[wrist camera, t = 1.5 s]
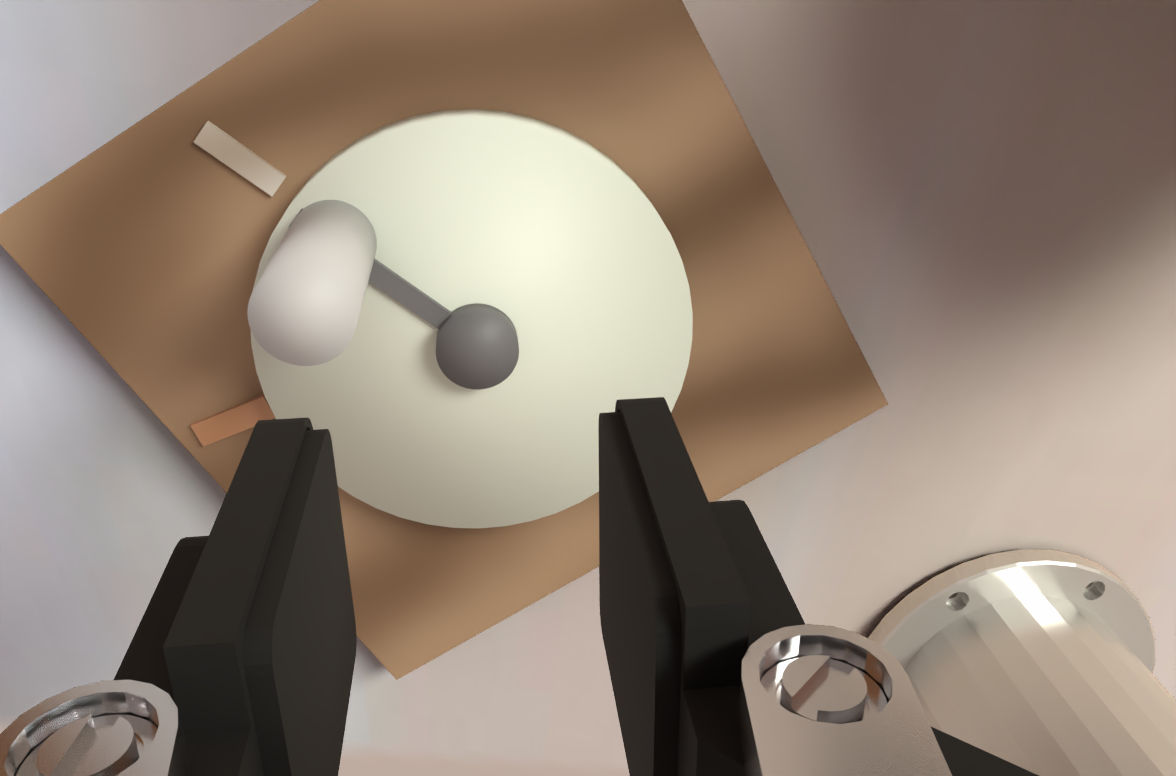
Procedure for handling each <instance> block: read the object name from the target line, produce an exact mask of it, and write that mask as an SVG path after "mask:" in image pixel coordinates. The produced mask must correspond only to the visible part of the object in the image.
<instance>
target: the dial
mask: <svg viewBox="0 0 1176 776" xmlns="http://www.w3.org/2000/svg"><path fill="white" fill-rule="evenodd" d="M247 314H248V322H249V326H250V329H251V346H252V351H253V357H254V362H255V367H256V372H257V375H258V378H259V381H260V384H261V387H262V390H263V393H264V396H265V398H266V400H267V402H268V404H269V406H270V408H271V410H272V412H273V414H274V416H275V418H276V419H290V418H309V419H310V421H311V423H312V426H313V430H318V429H328V430H329V431H330V435H331V440H332V446H333V454H334V461H335V469H336V477H337V484H338V487H340V488H341V489H343V490H344V491H346V492H347V493H349V494H350V495H352V496H353V497H355V498H357V499H359V500H361V501H363V502H365V503H367V504H369V505H371V506H373V507H374V508H377V509H379V510H382V511H384V512H387V513H390V514H392V515H395V516H398V517H400V518H404V519H408V520H412V521H416V522H420V523H424V524H429V525H436V526H443V527H451V528H491V527H502V526H509V525H514V524H519V523H524V522H529V521H533V520H536V519H540V518H543V517H546V516H549V515H552V514H555V513H558V512H560V511H562V510H565V509H567V508H569V507H571V506H573V505H576V504H578V503H580V502H582V501H584V500H585V499H587V498H589V497H590V496H592V495H594V494H595V493H597V492H599V432H598V426H599V414H600V413H608V412H615V406H616V401H617V400H621V399H639V398H656V397H664V398H665V400H666V402H667V405H668V407H669V409H670V412H672V410H673V407H674V405H675V403H676V400H677V398H678V396H679V394H680V391H681V389H682V386H683V382H684V379H685V375H686V372H687V368H688V365H689V358H690V352H691V345H692V327H693V312H692V304H691V296H690V288H689V284H688V280H687V276H686V273H685V269H684V265H683V262H682V259H681V257H680V254H679V252H678V250H677V247H676V245H675V243H674V240H673V238H672V236H671V234H670V232H669V231H668V229H667V227H666V226H665V224H664V222H663V221H662V219H661V217H660V216H659V214H658V212H657V211H656V209H655V208H654V206H653V205H652V203H651V202H650V200H649V199H648V198H647V196H646V195H645V194H644V193H643V191H642V190H641V189H640V188H639V187H638V185H637V184H636V183H635V182H634V180H633V179H632V178H631V177H630V176H629V175H628V174H627V173H626V172H625V171H624V170H623V169H622V168H621V167H620V166H618V165H617V164H616V163H615V162H614V161H613V160H612V159H611V158H610V157H608V156H607V155H606V154H604V153H603V152H601V151H600V150H598V149H597V148H596V147H594V146H593V145H591V144H590V143H589V142H587V141H585V140H583V139H582V138H580V137H578V136H576V135H574V134H572V133H570V132H568V131H566V130H564V129H562V128H560V127H558V126H555V125H552V124H549V123H547V122H544V121H541V120H538V119H535V118H533V117H528V116H523V115H519V114H514V113H510V112H505V111H495V110H483V109H460V110H443V111H437V112H432V113H427V114H421V115H416V116H412V117H409V118H406V119H403V120H400V121H397V122H394V123H391V124H388V125H385V126H383V127H381V128H379V129H377V130H375V131H373V132H371V133H369V134H367V135H365V136H363V137H361V138H359V139H357V140H356V141H354V142H353V143H351V144H350V145H348V146H347V147H345V148H344V149H343V150H341V151H340V152H338V153H337V154H335V155H334V156H333V157H332V158H331V159H329V160H328V161H327V162H326V163H325V164H324V165H323V166H322V167H321V168H320V169H318V170H317V171H316V172H315V173H314V174H313V175H312V176H311V177H310V179H309V180H308V181H307V182H306V183H305V185H304V186H303V187H302V188H301V190H300V191H299V192H298V193H297V194H296V196H295V197H294V199H293V200H292V202H291V203H290V205H289V207H288V208H287V210H286V212H285V213H284V215H283V216H282V218H281V220H280V221H279V223H278V225H277V226H276V228H275V230H274V231H273V233H272V235H271V237H270V239H269V241H268V244H267V246H266V249H265V251H264V253H263V256H262V258H261V260H260V264H259V268H258V271H257V275H256V279H255V283H254V287H253V292H252V294H251V297H250V299H249V303H248V310H247Z"/></svg>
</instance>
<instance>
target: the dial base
mask: <svg viewBox="0 0 1176 776" xmlns="http://www.w3.org/2000/svg"><path fill="white" fill-rule="evenodd" d="M460 109H483V110H495V111H505V112H510V113H514V114H519V115H523V116H528V117H533V118H535V119H538V120H541V121H544V122H547V123H549V124H552V125H555V126H558V127H560V128H562V129H564V130H566V131H568V132H570V133H572V134H574V135H576V136H578V137H580V138H582V139H583V140H585V141H587V142H589V143H590V144H591V145H593V146H594V147H596V148H597V149H598V150H600V151H601V152H603V153H604V154H606V155H607V156H608V157H610V158H611V159H612V160H613V161H614V162H615V163H616V164H617V165H618V166H620V167H621V168H622V169H623V170H624V171H625V172H626V173H627V174H628V175H629V176H630V177H631V178H632V179H633V180H634V182H635V183H636V184H637V185H638V187H639V188H640V189H641V190H642V191H643V193H644V194H645V195H646V196H647V198H648V199H649V200H650V202H651V203H652V205H653V206H654V208H655V209H656V211H657V212H658V214H659V216H660V217H661V219H662V221H663V222H664V224H665V226H666V227H667V229H668V231H669V232H670V234H671V236H672V238H673V240H674V243H675V245H676V247H677V250H678V252H679V254H680V257H681V259H682V262H683V265H684V269H685V273H686V276H687V280H688V284H689V288H690V296H691V304H692V312H693V327H692V345H691V352H690V358H689V365H688V368H687V372H686V375H685V379H684V382H683V386H682V389H681V391H680V394H679V396H678V398H677V400H676V403H675V405H674V407H673V410H672V412H671V414H672V416H673V419H674V421H675V423H676V426H677V428H678V431H679V433H680V435H681V438H682V440H683V442H684V445H685V447H686V449H687V452H688V454H689V457H690V459H691V461H692V464H693V466H694V468H695V471H696V473H697V475H698V478H699V480H700V483H701V485H702V487H703V490H704V492H705V494H706V497H707V499H708V501H709V502H714V501H716V500H718V499H720V498H722V497H723V496H725V495H727V494H729V493H730V492H732V491H734V490H736V489H738V488H739V487H741V486H743V485H745V484H747V483H748V482H750V481H752V480H754V479H755V478H757V477H759V476H761V475H763V474H764V473H766V472H768V471H770V470H771V469H773V468H775V467H777V466H779V465H780V464H782V463H784V462H786V461H788V460H789V459H791V458H793V457H795V456H796V455H798V454H800V453H802V452H804V451H805V450H807V449H809V448H811V447H812V446H814V445H816V444H818V443H820V442H821V441H823V440H825V439H827V438H829V437H830V436H832V435H834V434H836V433H837V432H839V431H841V430H843V429H845V428H846V427H848V426H850V425H852V424H853V423H855V422H857V421H859V420H861V419H862V418H864V417H866V416H868V415H870V414H871V413H873V412H875V411H877V410H878V409H880V408H882V407H884V406H886V405H887V404H888V403H887V401H886V399H885V397H884V395H883V393H882V391H881V389H880V387H879V385H878V383H877V381H876V379H875V377H874V375H873V373H872V371H871V369H870V368H869V366H868V364H867V362H866V360H865V358H864V356H863V354H862V352H861V350H860V348H859V346H858V344H857V342H856V340H855V338H854V336H853V334H852V332H851V330H850V328H849V326H848V325H847V323H846V321H845V319H844V317H843V315H842V313H841V311H840V309H839V307H838V305H837V303H836V301H835V299H834V297H833V295H832V293H831V291H830V289H829V287H828V285H827V283H826V282H825V280H824V278H823V276H822V274H821V272H820V270H819V268H818V266H817V264H816V262H815V260H814V258H813V256H812V254H811V252H810V250H809V248H808V246H807V244H806V242H805V240H804V238H803V237H802V235H801V233H800V231H799V229H798V227H797V225H796V223H795V221H794V219H793V217H792V215H791V213H790V211H789V209H788V207H787V205H786V203H785V201H784V199H783V197H782V195H781V194H780V192H779V190H778V188H777V186H776V184H775V182H774V180H773V178H772V176H771V174H770V172H769V170H768V168H767V166H766V164H765V162H764V160H763V158H762V156H761V154H760V152H759V151H758V149H757V147H756V145H755V143H754V141H753V139H752V137H751V135H750V133H749V131H748V129H747V127H746V125H745V123H744V121H743V119H742V117H741V115H740V113H739V111H738V109H737V107H736V106H735V104H734V102H733V100H732V98H731V96H730V94H729V92H728V90H727V88H726V86H725V84H724V82H723V80H722V78H721V76H720V74H719V72H718V70H717V68H716V66H715V64H714V63H713V61H712V59H711V57H710V55H709V53H708V51H707V49H706V47H705V45H704V43H703V41H702V39H701V37H700V35H699V33H698V31H697V29H696V27H695V25H694V23H693V21H692V20H691V18H690V16H689V14H688V12H687V10H686V8H685V6H684V4H683V2H682V0H320V1H318V2H317V3H315V4H314V5H312V6H311V7H309V8H308V9H306V10H305V11H303V12H302V13H300V14H299V15H297V16H296V17H294V18H293V19H291V20H290V21H288V22H287V23H285V24H284V25H282V26H281V27H279V28H278V29H276V30H275V31H273V32H272V33H270V34H269V35H267V36H266V37H264V38H263V39H261V40H260V41H258V42H257V43H255V44H254V45H252V46H251V47H249V48H248V49H246V50H245V51H243V52H242V53H240V54H239V55H237V56H236V57H235V58H233V59H232V60H230V61H229V62H227V63H226V64H224V65H223V66H221V67H220V68H218V69H217V70H215V71H214V72H212V73H211V74H209V75H208V76H206V77H205V78H203V79H202V80H200V81H199V82H197V83H196V84H194V85H193V86H191V87H190V88H188V89H187V90H185V91H184V92H182V93H181V94H179V95H178V96H176V97H175V98H173V99H172V100H170V101H169V102H167V103H166V104H164V105H163V106H161V107H160V108H158V109H157V110H155V111H154V112H152V113H151V114H149V115H148V116H146V117H145V118H143V119H142V120H140V121H139V122H137V123H136V124H134V125H133V126H131V127H130V128H129V129H127V130H126V131H124V132H123V133H121V134H120V135H118V136H117V137H115V138H114V139H112V140H111V141H109V142H108V143H106V144H105V145H103V146H102V147H100V148H99V149H97V150H96V151H94V152H93V153H91V154H90V155H88V156H87V157H85V158H84V159H82V160H81V161H79V162H78V163H76V164H75V165H73V166H72V167H70V168H69V169H67V170H66V171H64V172H63V173H61V174H60V175H58V176H57V177H55V178H54V179H52V180H51V181H49V182H48V183H46V184H45V185H43V186H42V187H40V188H39V189H37V190H36V191H34V192H33V193H31V194H30V195H28V196H27V197H25V198H24V199H22V200H21V201H20V202H18V203H17V204H15V205H14V206H12V207H11V208H9V209H8V210H6V211H5V212H3V213H2V214H0V245H1V246H2V247H3V248H4V249H5V250H6V251H7V252H8V253H9V254H10V256H11V257H12V258H13V259H14V260H15V261H16V262H17V263H18V264H19V265H20V267H21V268H22V269H23V270H24V271H25V272H26V273H27V274H28V275H29V276H30V278H31V279H32V280H33V281H34V282H35V283H36V284H37V285H38V286H39V287H40V289H41V290H42V291H43V292H44V293H45V294H46V295H47V296H48V297H49V298H50V300H51V301H52V302H53V303H54V304H55V305H56V306H57V307H58V308H59V309H60V310H61V312H62V313H63V314H64V315H65V316H66V317H67V318H68V319H69V320H70V321H71V323H72V324H73V325H74V326H75V327H76V328H77V329H78V330H79V331H80V332H81V334H82V335H83V336H84V337H85V338H86V339H87V340H88V341H89V342H90V343H91V345H92V346H93V347H94V348H95V349H96V350H97V351H98V352H99V353H100V354H101V356H102V357H103V358H104V359H105V360H106V361H107V362H108V363H109V364H110V365H111V367H112V368H113V369H114V370H115V371H116V372H117V373H118V374H119V375H120V376H121V378H122V379H123V380H124V381H125V382H126V383H127V384H128V385H129V386H130V387H131V388H132V390H133V391H134V392H135V393H136V394H137V395H138V396H139V397H140V398H141V399H142V401H143V402H144V403H145V404H146V405H147V406H148V407H149V408H150V409H151V410H152V412H153V413H154V414H155V415H156V416H157V417H158V418H159V419H160V420H161V421H162V423H163V424H164V425H165V426H166V427H167V428H168V429H169V430H170V431H171V432H172V434H173V435H174V436H175V437H176V438H177V439H178V440H179V441H180V442H181V443H182V445H183V446H184V447H185V448H186V449H187V450H188V451H189V452H190V453H191V454H192V455H193V457H194V458H195V459H196V460H197V461H198V462H199V463H200V464H201V465H202V466H203V468H204V469H205V470H206V471H207V472H208V473H209V474H210V475H211V476H212V477H213V479H214V480H215V481H216V482H217V483H218V484H219V485H220V486H221V487H222V488H223V490H224V491H225V492H226V493H227V492H228V489H229V487H230V485H231V482H232V480H233V477H234V475H235V473H236V470H237V468H238V465H239V463H240V461H241V458H242V456H243V453H244V451H245V448H246V446H247V444H248V441H249V439H250V436H251V434H252V432H253V429H254V427H255V424H256V423H257V421H258V420H273V419H276V418H275V416H274V414H273V412H272V410H271V408H270V406H269V404H268V402H267V400H266V398H265V396H264V393H263V390H262V387H261V384H260V381H259V378H258V375H257V372H256V367H255V362H254V357H253V351H252V346H251V329H250V326H249V322H248V314H247V310H248V303H249V299H250V297H251V294H252V292H253V287H254V283H255V279H256V275H257V271H258V268H259V264H260V260H261V258H262V256H263V253H264V251H265V249H266V246H267V244H268V241H269V239H270V237H271V235H272V233H273V231H274V230H275V228H276V226H277V225H278V223H279V221H280V220H281V218H282V216H283V215H284V213H285V212H286V210H287V208H288V207H289V205H290V203H291V202H292V200H293V199H294V197H295V196H296V194H297V193H298V192H299V191H300V190H301V188H302V187H303V186H304V185H305V183H306V182H307V181H308V180H309V179H310V177H311V176H312V175H313V174H314V173H315V172H316V171H317V170H318V169H320V168H321V167H322V166H323V165H324V164H325V163H326V162H327V161H328V160H329V159H331V158H332V157H333V156H334V155H335V154H337V153H338V152H340V151H341V150H343V149H344V148H345V147H347V146H348V145H350V144H351V143H353V142H354V141H356V140H357V139H359V138H361V137H363V136H365V135H367V134H369V133H371V132H373V131H375V130H377V129H379V128H381V127H383V126H385V125H388V124H391V123H394V122H397V121H400V120H403V119H406V118H409V117H412V116H416V115H421V114H427V113H432V112H437V111H443V110H460ZM338 492H339V500H340V507H341V515H342V522H343V530H344V538H345V545H346V553H347V561H348V568H349V576H350V584H351V591H352V599H353V606H354V614H355V622H356V636H357V637H358V638H359V639H360V640H361V641H362V642H363V643H364V644H365V646H366V647H367V648H368V649H369V650H370V651H371V652H372V653H373V654H374V655H375V657H376V658H377V659H378V660H379V661H380V662H381V663H382V664H383V665H384V666H385V668H386V669H387V670H388V671H389V672H390V673H391V674H392V675H393V676H394V677H395V679H396V680H397V679H399V678H401V677H402V676H404V675H406V674H408V673H410V672H411V671H413V670H415V669H417V668H419V667H420V666H422V665H424V664H426V663H427V662H429V661H431V660H433V659H435V658H436V657H438V656H440V655H442V654H443V653H445V652H447V651H449V650H451V649H452V648H454V647H456V646H458V645H460V644H461V643H463V642H465V641H467V640H468V639H470V638H472V637H474V636H476V635H477V634H479V633H481V632H483V631H484V630H486V629H488V628H490V627H492V626H493V625H495V624H497V623H499V622H501V621H502V620H504V619H506V618H508V617H509V616H511V615H513V614H515V613H517V612H518V611H520V610H522V609H524V608H525V607H527V606H529V605H531V604H533V603H534V602H536V601H538V600H540V599H542V598H543V597H545V596H547V595H549V594H550V593H552V592H554V591H556V590H558V589H559V588H561V587H563V586H565V585H566V584H568V583H570V582H572V581H574V580H575V579H577V578H579V577H581V576H583V575H584V574H586V573H588V572H590V571H591V570H593V569H595V568H597V567H599V492H597V493H595V494H594V495H592V496H590V497H589V498H587V499H585V500H584V501H582V502H580V503H578V504H576V505H573V506H571V507H569V508H567V509H565V510H562V511H560V512H558V513H555V514H552V515H549V516H546V517H543V518H540V519H536V520H533V521H529V522H524V523H519V524H514V525H509V526H502V527H491V528H451V527H443V526H436V525H429V524H424V523H420V522H416V521H412V520H408V519H404V518H400V517H398V516H395V515H392V514H390V513H387V512H384V511H382V510H379V509H377V508H374V507H373V506H371V505H369V504H367V503H365V502H363V501H361V500H359V499H357V498H355V497H353V496H352V495H350V494H349V493H347V492H346V491H344V490H343V489H341V488H340V487H338Z"/></svg>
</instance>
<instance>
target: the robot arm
mask: <svg viewBox="0 0 1176 776" xmlns="http://www.w3.org/2000/svg"><path fill="white" fill-rule="evenodd" d="M598 432H599V573H600V617H601V627H602V634H603V640H604V645H605V650H606V655H607V660H608V665H609V671H610V676H611V681H612V686H613V691H614V696H615V701H616V706H617V712H618V717H619V722H620V727H621V732H622V737H623V742H624V747H625V753H626V758H627V763H628V768H629V773H630V776H1176V699H1175V698H1174V697H1173V696H1172V695H1171V694H1170V693H1169V691H1168V690H1167V689H1166V688H1165V687H1164V686H1163V685H1162V684H1161V683H1160V682H1159V681H1158V679H1157V678H1156V677H1155V676H1154V675H1153V670H1154V665H1155V636H1154V632H1153V629H1152V625H1151V621H1150V618H1149V616H1148V614H1147V613H1146V611H1145V609H1144V607H1143V606H1142V604H1141V602H1140V601H1139V599H1138V598H1137V597H1136V596H1135V595H1134V594H1133V593H1132V592H1131V591H1130V590H1129V589H1128V587H1127V586H1126V585H1125V584H1124V583H1123V582H1122V581H1121V580H1120V579H1119V578H1118V577H1116V576H1115V575H1113V574H1112V573H1111V572H1109V571H1108V570H1107V569H1105V568H1104V567H1103V566H1101V565H1100V564H1098V563H1095V562H1093V561H1091V560H1088V559H1086V558H1084V557H1081V556H1079V555H1076V554H1071V553H1066V552H1061V551H1055V550H1048V549H1020V550H1014V551H1007V552H1001V553H994V554H990V555H987V556H984V557H980V558H977V559H974V560H971V561H968V562H965V563H962V564H959V565H957V566H955V567H953V568H951V569H949V570H947V571H945V572H943V573H941V574H939V575H937V576H935V577H933V578H931V579H930V580H929V581H927V582H926V583H924V584H923V585H921V586H920V587H918V588H917V589H915V590H914V591H912V592H911V593H910V594H908V595H907V596H906V597H905V598H904V599H902V600H901V601H900V602H899V603H898V604H897V605H896V606H895V607H894V608H893V609H892V610H891V611H890V612H889V613H887V614H886V615H885V616H884V618H883V619H882V620H881V622H880V623H879V624H878V625H877V627H876V628H875V629H874V631H873V632H872V633H871V634H870V636H869V637H868V638H866V637H864V636H862V635H860V634H858V633H855V632H852V631H848V630H844V629H841V628H837V627H833V626H823V625H811V624H805V623H804V621H803V619H802V617H801V615H800V612H799V610H798V608H797V606H796V604H795V602H794V600H793V598H792V596H791V594H790V592H789V590H788V588H787V586H786V584H785V582H784V580H783V578H782V576H781V573H780V571H779V569H778V567H777V565H776V563H775V561H774V559H773V557H772V555H771V553H770V551H769V549H768V547H767V545H766V543H765V541H764V539H763V537H762V534H761V532H760V530H759V528H758V526H757V524H756V522H755V520H754V518H753V516H752V514H751V512H750V510H749V508H748V506H747V505H746V503H745V502H744V501H742V500H730V501H715V502H709V501H708V499H707V497H706V494H705V492H704V490H703V487H702V485H701V483H700V480H699V478H698V475H697V473H696V471H695V468H694V466H693V464H692V461H691V459H690V457H689V454H688V452H687V449H686V447H685V445H684V442H683V440H682V438H681V435H680V433H679V431H678V428H677V426H676V423H675V421H674V419H673V416H672V414H671V412H670V409H669V407H668V405H667V402H666V400H665V398H664V397H656V398H639V399H621V400H617V401H616V406H615V412H608V413H600V414H599V426H598ZM355 656H356V622H355V614H354V606H353V599H352V591H351V584H350V576H349V568H348V561H347V553H346V545H345V538H344V530H343V522H342V515H341V507H340V500H339V492H338V484H337V477H336V469H335V461H334V454H333V446H332V440H331V435H330V431H329V430H328V429H318V430H313V426H312V423H311V421H310V419H309V418H290V419H273V420H258V421H257V423H256V424H255V427H254V429H253V432H252V434H251V436H250V439H249V441H248V444H247V446H246V448H245V451H244V453H243V456H242V458H241V461H240V463H239V465H238V468H237V470H236V473H235V475H234V477H233V480H232V482H231V485H230V487H229V489H228V492H227V494H226V497H225V499H224V501H223V504H222V506H221V509H220V511H219V513H218V516H217V518H216V521H215V523H214V525H213V528H212V530H211V533H210V535H209V536H199V537H186V538H183V539H180V541H179V542H178V544H177V545H176V547H175V549H174V551H173V553H172V555H171V557H170V560H169V562H168V564H167V566H166V568H165V570H164V573H163V575H162V577H161V579H160V581H159V583H158V586H157V588H156V590H155V592H154V594H153V596H152V598H151V601H150V603H149V605H148V607H147V609H146V611H145V614H144V616H143V618H142V620H141V622H140V624H139V627H138V629H137V631H136V633H135V635H134V637H133V640H132V642H131V644H130V646H129V648H128V650H127V653H126V655H125V657H124V659H123V661H122V663H121V665H120V668H119V670H118V672H117V674H116V676H115V678H114V680H110V681H100V682H96V683H92V684H87V685H83V686H79V687H74V688H72V689H70V690H67V691H65V692H62V693H60V694H58V695H55V696H53V697H50V698H48V699H46V700H44V701H42V702H41V703H39V704H38V705H36V706H34V707H33V708H31V709H30V710H28V711H26V712H25V713H23V714H22V715H20V716H19V717H18V718H17V719H16V720H15V721H14V722H13V723H12V724H10V725H9V726H8V727H7V728H6V729H5V730H4V731H3V732H2V733H1V734H0V776H338V770H339V764H340V758H341V751H342V744H343V737H344V731H345V724H346V717H347V710H348V703H349V697H350V690H351V683H352V676H353V670H354V663H355Z"/></svg>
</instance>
